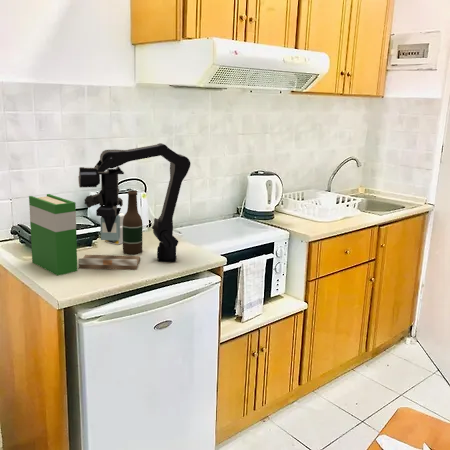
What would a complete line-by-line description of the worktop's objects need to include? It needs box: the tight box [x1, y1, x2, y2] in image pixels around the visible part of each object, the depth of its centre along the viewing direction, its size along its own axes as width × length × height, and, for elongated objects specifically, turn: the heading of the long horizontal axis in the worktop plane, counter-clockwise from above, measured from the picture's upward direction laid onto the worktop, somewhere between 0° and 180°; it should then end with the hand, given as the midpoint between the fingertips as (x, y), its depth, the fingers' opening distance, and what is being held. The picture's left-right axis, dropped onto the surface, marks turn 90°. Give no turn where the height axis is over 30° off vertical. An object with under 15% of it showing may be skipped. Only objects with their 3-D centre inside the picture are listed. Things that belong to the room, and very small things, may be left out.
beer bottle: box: [122, 190, 143, 256], centre depth 195 cm, size 8×8×24 cm
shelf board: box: [77, 254, 141, 271], centre depth 182 cm, size 20×11×4 cm, turn 93°
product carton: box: [100, 215, 120, 241], centre depth 180 cm, size 5×6×8 cm
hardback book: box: [28, 193, 78, 276], centre depth 175 cm, size 18×7×24 cm, turn 47°
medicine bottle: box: [104, 212, 125, 245], centre depth 209 cm, size 7×7×12 cm
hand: (110, 230), depth 180 cm, fingers closed on product carton, 5 cm apart
